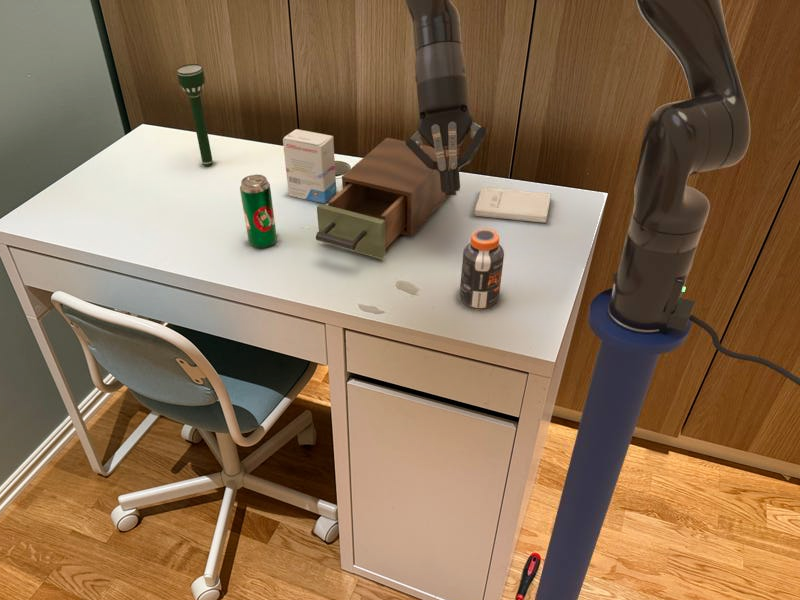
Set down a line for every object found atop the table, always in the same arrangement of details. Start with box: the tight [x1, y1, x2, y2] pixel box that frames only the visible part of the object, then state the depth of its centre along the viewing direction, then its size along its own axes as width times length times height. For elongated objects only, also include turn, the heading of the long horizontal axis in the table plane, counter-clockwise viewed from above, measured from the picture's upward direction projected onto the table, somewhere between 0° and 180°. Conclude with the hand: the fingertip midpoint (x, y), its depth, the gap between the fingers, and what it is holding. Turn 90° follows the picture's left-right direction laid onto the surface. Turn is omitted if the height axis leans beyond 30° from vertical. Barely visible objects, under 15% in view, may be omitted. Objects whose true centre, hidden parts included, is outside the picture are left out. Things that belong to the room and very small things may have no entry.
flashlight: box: [176, 63, 214, 168], centre depth 143 cm, size 5×5×20 cm
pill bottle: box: [459, 228, 505, 309], centre depth 107 cm, size 6×6×11 cm
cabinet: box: [341, 137, 450, 238], centre depth 129 cm, size 17×14×9 cm
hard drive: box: [474, 187, 552, 224], centre depth 128 cm, size 2×8×12 cm
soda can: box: [239, 174, 278, 249], centre depth 123 cm, size 5×5×12 cm
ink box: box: [282, 128, 337, 205], centre depth 134 cm, size 9×5×12 cm, turn 59°
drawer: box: [315, 183, 407, 260], centre depth 122 cm, size 20×12×7 cm, turn 148°
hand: (451, 195), depth 111 cm, fingers closed
